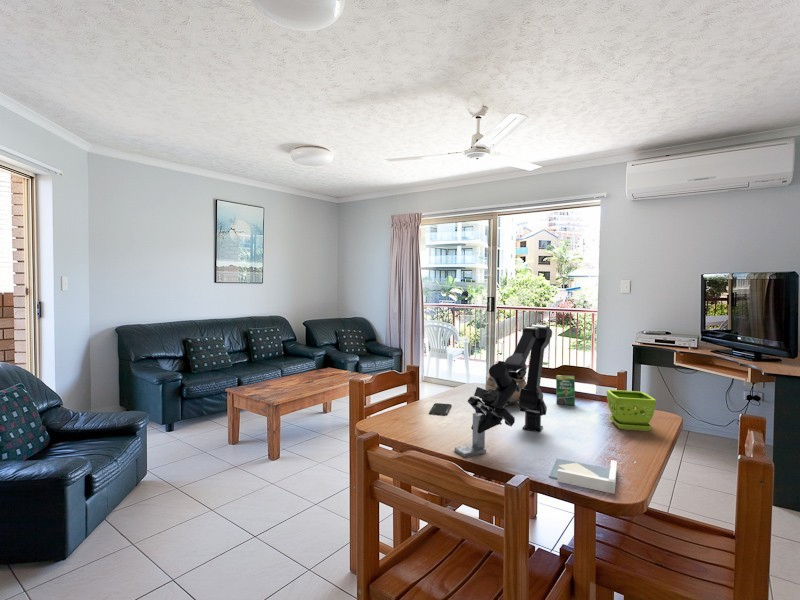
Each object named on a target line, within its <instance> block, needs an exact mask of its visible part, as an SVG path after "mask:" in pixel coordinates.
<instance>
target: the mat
mask: <svg viewBox="0 0 800 600" xmlns="http://www.w3.org/2000/svg"><path fill="white" fill-rule="evenodd" d="M558 469H562V470H567V471H572V472H577V473H582V474H587V475H592V476H597V477H602V478H607V479H609V473H610V467H603V466H599V465H598V466H597V465H593V464H587V463H583V462H577V461H572V460H567V459H561V458H556V459H555V462H554V464H553V466H552V468H551V471H550V473H549V475H548V478H551V479H554V480H558Z"/></svg>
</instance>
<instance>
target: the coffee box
mask: <svg viewBox="0 0 800 600" xmlns="http://www.w3.org/2000/svg"><path fill="white" fill-rule="evenodd" d="M555 375H556V376H555V378H556V379H555V381H556V385H555V390H556V395H555V396H556V397H555V398H556V401H555V402H556V405H566V406H567V405H568V406H575V402H576V400H575V399H576V396H575V394H576V390H575V388H576V387H575V386H576V385H575V383H576V382H575V375H559V374H555Z"/></svg>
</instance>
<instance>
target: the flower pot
mask: <svg viewBox="0 0 800 600" xmlns="http://www.w3.org/2000/svg"><path fill="white" fill-rule="evenodd" d="M606 399H607V400H606V401H607V405H608V408H609V410H610V413H611V415H608V416H609V418H610V421H612V422H613V423H614V425H615V426H616V427H617V428H619V430H627V431H637V430H639V431H640V432H648V431H651V430H652V428H653V426H652V424H650V422H651V421H652V419H653V417H654V413H655V411H656V406H657V405H656V404H657V400H656V399H655V398H654V397H652V396H650V395H649V394H648V393H645V392H644V391H635V390H619V389H607V390H606ZM635 408H636V409H635Z"/></svg>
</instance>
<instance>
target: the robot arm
mask: <svg viewBox="0 0 800 600" xmlns="http://www.w3.org/2000/svg"><path fill="white" fill-rule="evenodd" d="M552 336H553V330H552V328H550V326H549V325H542V324H541V325H539V324H538V325H537V324H532V325H530V326H525V327H523V328H522V334H521V336H520V339H519V340H518V343H517V344H516V347H515V349H514V351H513V353H512V354H511V355H510V356H508V357H507V358H506V359H505V360H498V362H497V363H495V364H493V365H491V366H490V367H489V369H488V375H489V374H490V376H491V378H492V379H493V381H494V382H495V384H496V385H497V387H496V388H495V390H493V389H489V390H488V391H487V390H486V388H485V389H484V388H482V387H479V386H476V389H475V391H474V394H473V396H470V397H469V398H468V400H467V403H468V404H469V406H471V407H472V409H474V411H475V412H474V413H479V412H480V413H482V414H485V419H484V421H483V422H482V424H481V425H480V427H479V429H478V430H477V432H478V433H479V434H480V433H482V432H484V431H485V432H486V431H487V430H488V431H489V430H490V429H491V428H494V427H496V426H498V425H502V424H503V423H502V421H503V420H504V424H505V425H506V426H508V427H513V425H514V424H515V423H516V421H515V420H516V419H515V417H514V416H513V414H512V413H511V412H510V411H509V410H508V409H506V408H505V406H510V405H509V404H510V402H509V399H510V398H511V397H512V395H513V394H514V393H515V391H517V392H519V391H520V388H519V384H518V383H516V381H515V380H514V379H518V380H521V379H523V378H524V377H526V374H527V377H526V386H525V387H524V388H522V389H521V391H520V397H519V402H518V407H519V412H524V414H525V415H524V425H523V426H522V430H526V431H530V432H539V433H541V431H542V430H543V428H544V426H543V425H542V416H546V415H547V412H548V410H547V405H546V403H545V401H544V394H543V392H542V389H541V379H542V371H543V362H544V354H545V349H546V348H547V346H549V344H550V341H551V339H552ZM529 355H530V356H529ZM528 357H529V361H528V362H529V363H528V372H527V365H526V363H527V360H528ZM470 428H471V430H472V431H473V423H472V425H471V427H470Z"/></svg>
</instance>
